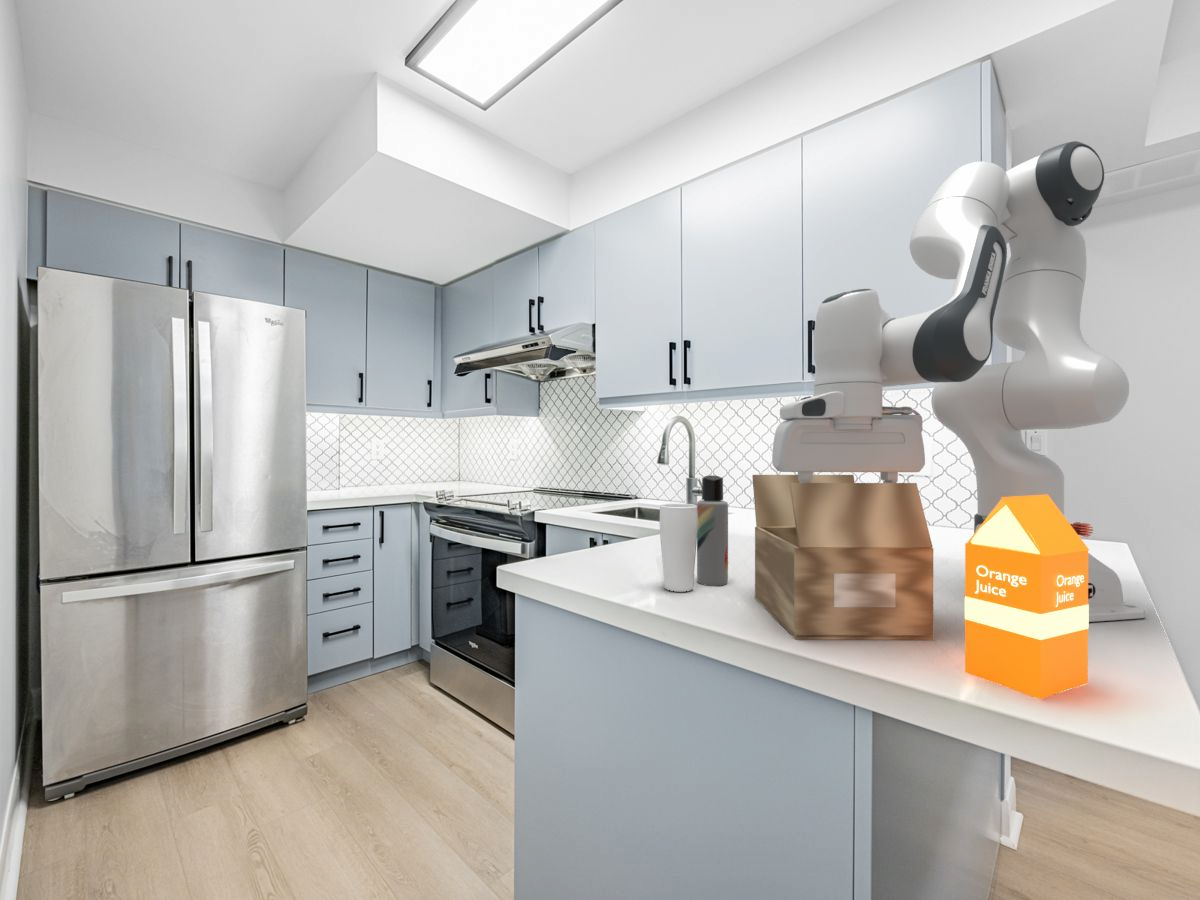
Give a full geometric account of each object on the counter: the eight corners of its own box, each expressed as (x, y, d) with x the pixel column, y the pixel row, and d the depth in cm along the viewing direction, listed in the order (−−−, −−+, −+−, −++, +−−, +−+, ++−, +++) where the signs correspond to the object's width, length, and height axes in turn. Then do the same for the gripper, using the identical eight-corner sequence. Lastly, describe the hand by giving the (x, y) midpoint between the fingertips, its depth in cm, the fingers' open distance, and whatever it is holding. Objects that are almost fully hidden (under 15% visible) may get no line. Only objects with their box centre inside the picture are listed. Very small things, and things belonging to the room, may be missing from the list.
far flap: (860, 526, 93) (858, 527, 93) (853, 474, 95) (852, 475, 96) (757, 526, 93) (756, 527, 94) (753, 474, 96) (752, 475, 96)
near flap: (914, 484, 77) (916, 482, 76) (930, 548, 73) (932, 547, 72) (789, 484, 77) (790, 482, 76) (798, 548, 73) (800, 547, 73)
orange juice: (963, 671, 63) (963, 494, 63) (1011, 659, 66) (1011, 492, 66) (1042, 700, 56) (1042, 500, 55) (1090, 684, 59) (1091, 497, 59)
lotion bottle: (725, 579, 107) (726, 475, 107) (729, 586, 101) (729, 476, 101) (696, 578, 107) (696, 475, 107) (698, 585, 102) (698, 476, 102)
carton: (862, 598, 93) (862, 526, 93) (933, 640, 73) (933, 548, 73) (754, 598, 93) (754, 526, 93) (796, 639, 73) (796, 548, 73)
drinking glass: (674, 582, 104) (674, 502, 104) (705, 589, 99) (705, 505, 99) (651, 589, 99) (651, 505, 99) (683, 596, 94) (683, 508, 94)
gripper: (909, 408, 81) (909, 502, 81) (768, 408, 81) (768, 502, 81) (935, 404, 75) (934, 507, 75) (782, 404, 75) (782, 507, 75)
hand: (847, 504), depth 78 cm, fingers open, 8 cm apart
